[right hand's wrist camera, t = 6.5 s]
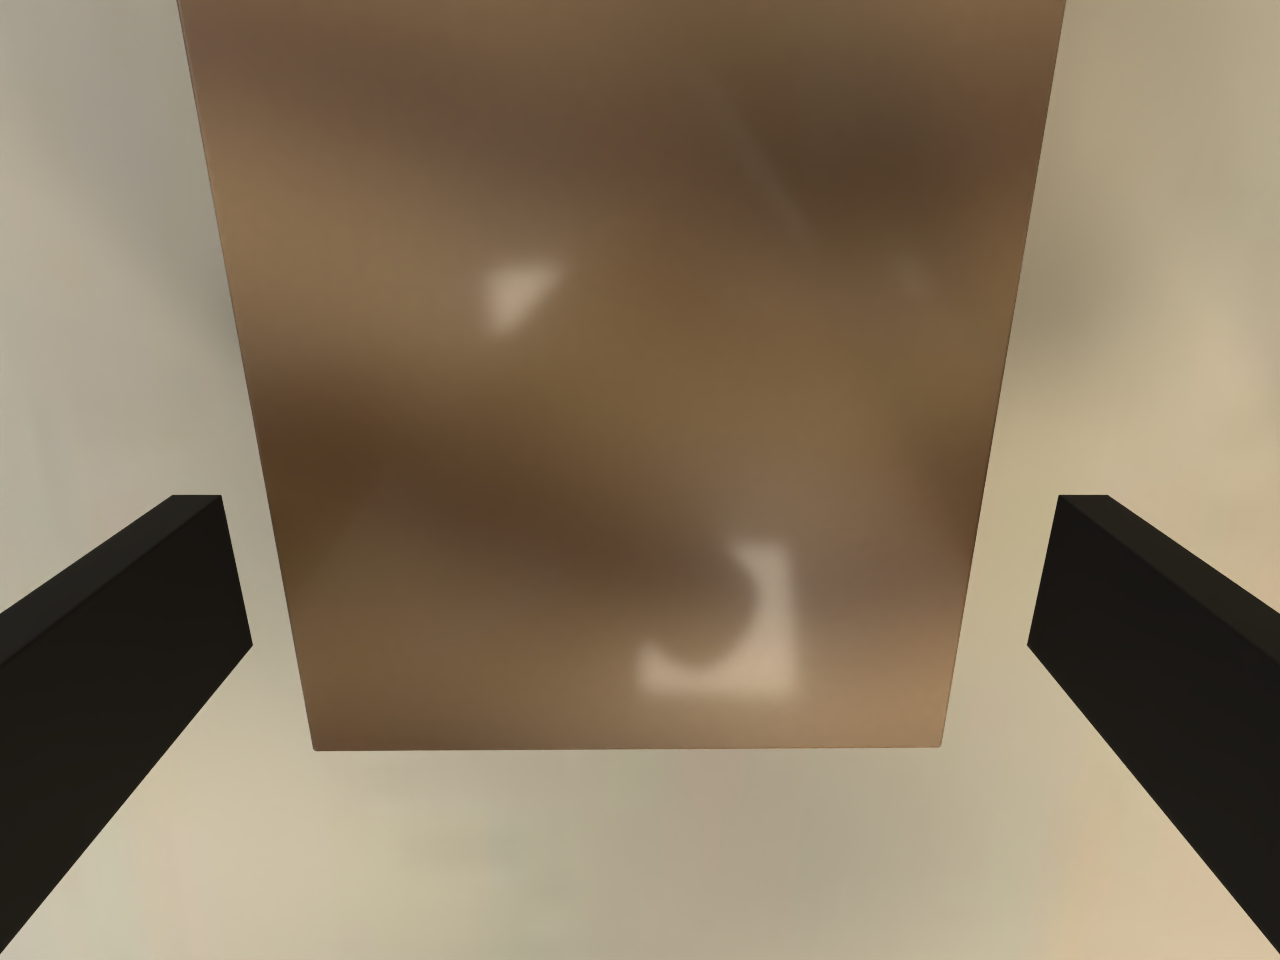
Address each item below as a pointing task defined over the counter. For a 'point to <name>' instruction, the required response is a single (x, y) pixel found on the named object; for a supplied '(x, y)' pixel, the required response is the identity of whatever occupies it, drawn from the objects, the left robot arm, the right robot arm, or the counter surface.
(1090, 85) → the counter surface
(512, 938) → the counter surface
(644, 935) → the counter surface
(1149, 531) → the right robot arm
